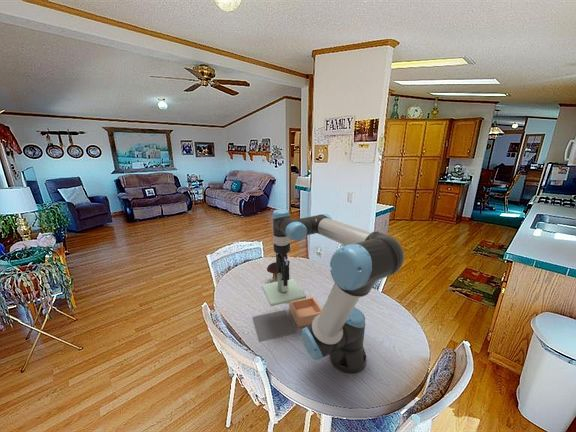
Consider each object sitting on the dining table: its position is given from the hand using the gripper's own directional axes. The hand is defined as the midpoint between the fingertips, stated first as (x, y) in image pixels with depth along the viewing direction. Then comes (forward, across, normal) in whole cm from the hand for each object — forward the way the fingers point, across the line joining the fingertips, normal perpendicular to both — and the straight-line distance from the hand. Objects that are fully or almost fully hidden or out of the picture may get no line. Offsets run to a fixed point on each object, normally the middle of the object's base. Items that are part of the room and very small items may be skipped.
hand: (283, 287), depth 124 cm
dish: (+20, +1, -13) cm, 24 cm away
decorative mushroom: (+20, +36, -7) cm, 42 cm away
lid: (+2, 0, 0) cm, 2 cm away
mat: (+20, 0, +6) cm, 21 cm away
